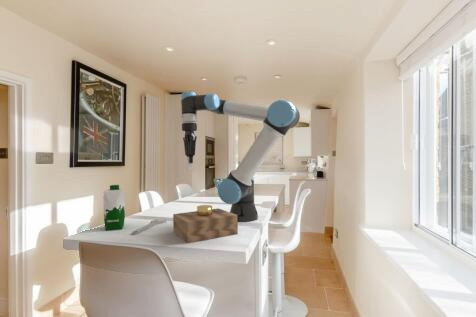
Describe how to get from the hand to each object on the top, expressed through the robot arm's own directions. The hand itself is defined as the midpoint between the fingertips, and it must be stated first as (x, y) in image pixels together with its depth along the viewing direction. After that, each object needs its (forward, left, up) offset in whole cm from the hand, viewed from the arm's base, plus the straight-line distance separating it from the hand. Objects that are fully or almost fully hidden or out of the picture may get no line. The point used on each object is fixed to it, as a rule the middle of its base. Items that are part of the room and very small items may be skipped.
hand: (190, 169), depth 141 cm
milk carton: (+35, -8, -27) cm, 45 cm away
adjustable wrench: (+21, -1, -27) cm, 34 cm away
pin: (+3, +24, -26) cm, 35 cm away
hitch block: (+3, +24, -26) cm, 36 cm away
